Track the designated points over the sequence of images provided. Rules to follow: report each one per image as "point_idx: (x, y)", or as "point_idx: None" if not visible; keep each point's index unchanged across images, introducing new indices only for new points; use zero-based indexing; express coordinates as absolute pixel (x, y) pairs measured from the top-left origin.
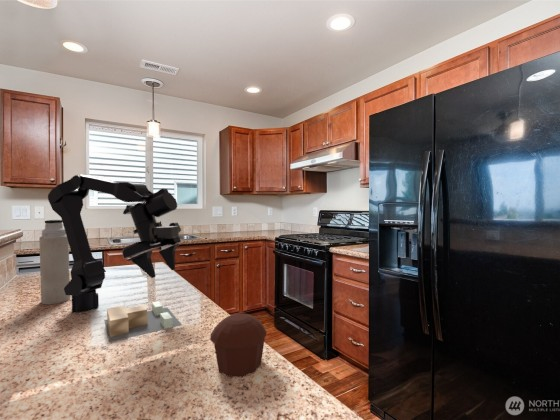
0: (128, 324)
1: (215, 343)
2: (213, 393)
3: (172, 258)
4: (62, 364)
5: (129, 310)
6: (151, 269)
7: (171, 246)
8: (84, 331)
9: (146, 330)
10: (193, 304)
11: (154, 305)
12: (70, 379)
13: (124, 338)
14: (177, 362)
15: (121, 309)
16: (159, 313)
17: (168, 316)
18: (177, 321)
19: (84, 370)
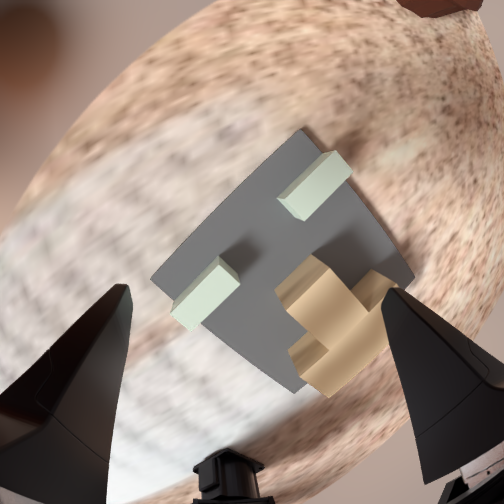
0: (383, 276)
1: (481, 5)
2: (467, 28)
3: (86, 359)
4: (458, 300)
5: (343, 324)
6: (443, 319)
7: (16, 487)
8: (343, 388)
9: (354, 225)
10: (78, 206)
11: (222, 300)
12: (487, 246)
13: (399, 254)
14: (440, 84)
15: (334, 356)
16: (226, 265)
17: (327, 170)
18: (275, 158)
19: (473, 245)
